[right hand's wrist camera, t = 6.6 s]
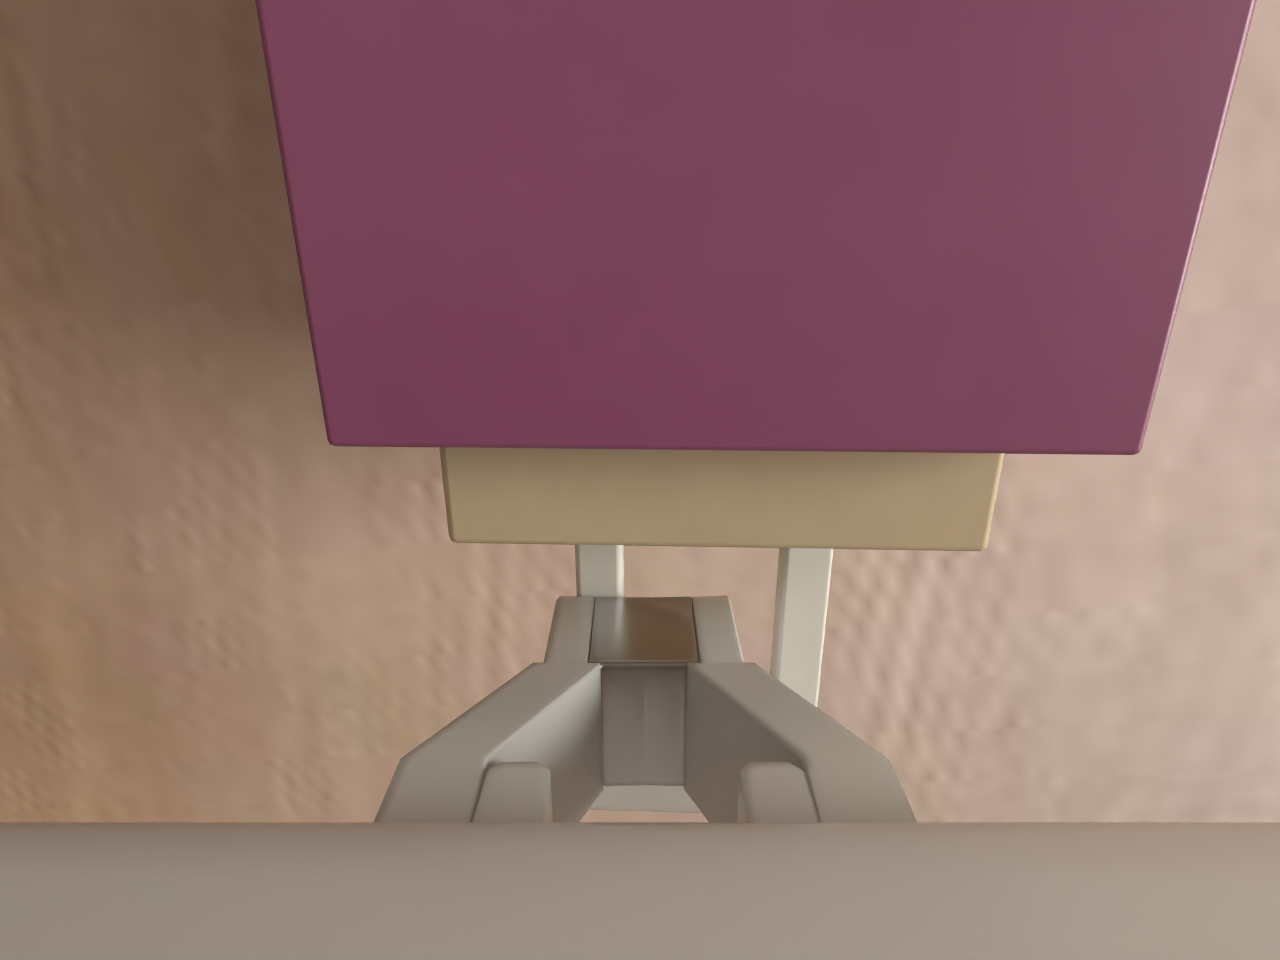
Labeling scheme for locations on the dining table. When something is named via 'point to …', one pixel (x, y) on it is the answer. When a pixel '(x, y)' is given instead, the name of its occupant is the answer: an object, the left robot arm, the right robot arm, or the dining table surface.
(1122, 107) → the cabinet
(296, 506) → the dining table surface
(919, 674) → the dining table surface
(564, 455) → the drawer
